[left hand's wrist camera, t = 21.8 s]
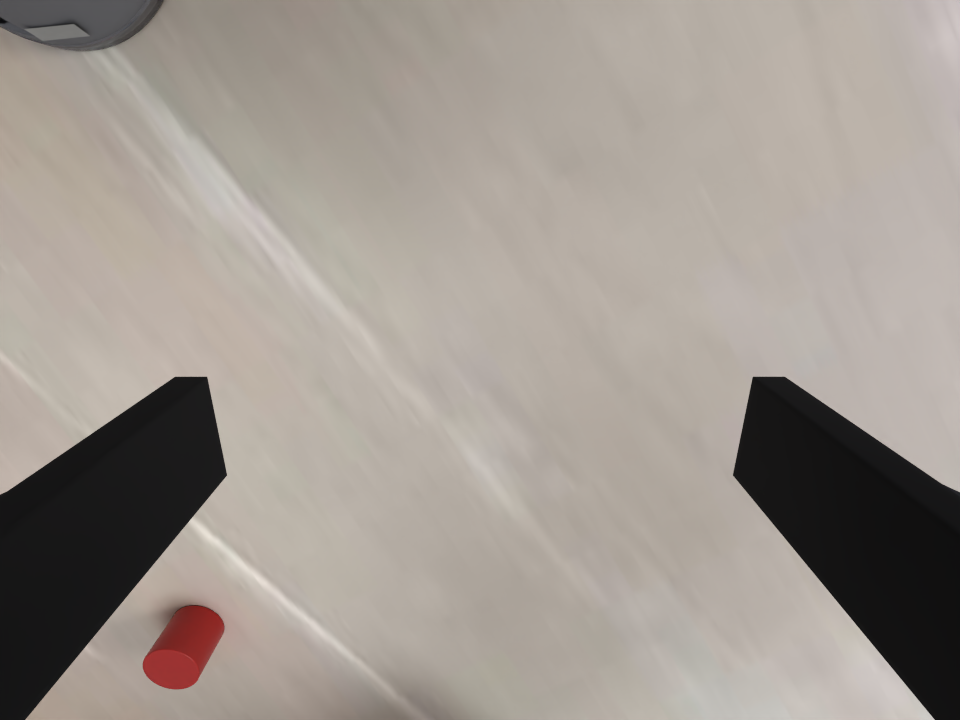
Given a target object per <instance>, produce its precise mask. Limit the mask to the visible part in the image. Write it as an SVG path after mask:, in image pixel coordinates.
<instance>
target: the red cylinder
mask: <svg viewBox="0 0 960 720" xmlns="http://www.w3.org/2000/svg"><path fill="white" fill-rule="evenodd" d="M223 632H224V624H223V621H222V619H221V618H220V617H219V616H218V615H217V614H216V613H215V612H214V611H212V610H210V609H208V608H205V607H202V606H186V607H183V608H181V609H179V610H178V611H177V612H176V613H175V614H174V616H173V617H172V619H171V620H170V622H169V623H168V625H167V626H166V628H165V629H164V630H163V632H162V633H161V635H160V636H159V638H158V639H157V641H156V642H155V644H154V645H153V647H152V648H151V650H150V651H149V653H148V654H147V655H146V657H145V659H144V661H143V670H144V672H145V674H146V676H147V677H148V678H149V679H150V680H151V681H153V682H154V683H156V684H157V685H159V686H162V687H165V688H169V689H184V688H188V687H190V686H192V685H193V684H195V683H196V682H197V680H198V678H199V677H200V675H201V673H202V671H203V669H204V668H205V666H206V664H207V662H208V660H209V658H210V657H211V655H212V653H213V651H214V649H215V647H216V646H217V644H218V642H219V640H220V638H221V637H222V635H223Z"/></svg>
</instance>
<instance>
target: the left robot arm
mask: <svg viewBox="0 0 960 720" xmlns="http://www.w3.org/2000/svg"><path fill="white" fill-rule="evenodd" d="M162 2H163V0H0V27H2V28H4V29H6V30H8V31H10V32H11V33H14V34H16V35H18V36H21V37H23V38H25V39H28V40H32V41H35V42H38V43H41V44H45V45H49V46H52V47H56V48H61V49H66V50H75V51H91V50H99V49H104V48H108V47H111V46H114V45H117V44H119V43H121V42H123V41H125V40H127V39H129V38H130V37H132V36H133V35H135V34H136V33H138V32H139V31H140V30H141V29H142V28H143V27H144V26H145V25H146V24H147V23H148V22H149V21H150V20H151V19H152V17H153V16H154V15H155V13H156V12H157V10H158V9H159V7H160V6H161V4H162ZM226 476H227V473H226V468H225V463H224V458H223V453H222V448H221V443H220V438H219V433H218V428H217V423H216V419H215V414H214V409H213V404H212V399H211V394H210V389H209V384H208V379H207V377H174V378H173V379H171V380H170V381H168V382H167V383H166V384H164V385H163V386H161V387H160V388H158V389H157V390H155V391H154V392H152V393H151V394H149V395H148V396H146V397H145V398H144V399H142V400H141V401H139V402H138V403H136V404H135V405H133V406H132V407H130V408H129V409H127V410H126V411H125V412H123V413H122V414H120V415H119V416H117V417H116V418H114V419H113V420H111V421H110V422H108V423H107V424H105V425H104V426H103V427H101V428H100V429H98V430H97V431H95V432H94V433H92V434H91V435H89V436H88V437H86V438H85V439H84V440H82V441H81V442H79V443H78V444H76V445H75V446H73V447H72V448H70V449H69V450H67V451H66V452H64V453H63V454H62V455H60V456H59V457H57V458H56V459H54V460H53V461H51V462H50V463H48V464H47V465H45V466H44V467H43V468H41V469H40V470H38V471H37V472H35V473H34V474H32V475H31V476H29V477H28V478H26V479H25V480H23V481H22V482H21V483H19V484H18V485H16V486H15V487H13V488H12V489H10V490H9V491H7V492H5V493H3V494H1V495H0V720H25V719H26V718H27V717H28V716H29V714H30V713H31V712H32V711H33V710H34V708H35V707H36V706H37V705H38V703H39V702H40V701H41V700H42V699H43V697H44V696H45V695H46V694H47V693H48V691H49V690H50V689H51V688H52V687H53V685H54V684H55V683H56V682H57V680H58V679H59V678H60V677H61V676H62V674H63V673H64V672H65V671H66V670H67V668H68V667H69V666H70V665H71V663H72V662H73V661H74V660H75V659H76V657H77V656H78V655H79V654H80V653H81V651H82V650H83V649H84V648H85V647H86V645H87V644H88V643H89V642H90V640H91V639H92V638H93V637H94V636H95V634H96V633H97V632H98V631H99V630H100V628H101V627H102V626H103V625H104V624H105V622H106V621H107V620H108V619H109V617H110V616H111V615H112V614H113V613H114V611H115V610H116V609H117V608H118V607H119V605H120V604H121V603H122V602H123V601H124V599H125V598H126V597H127V596H128V594H129V593H130V592H131V591H132V590H133V588H134V587H135V586H136V585H137V584H138V582H139V581H140V580H141V579H142V578H143V576H144V575H145V574H146V573H147V571H148V570H149V569H150V568H151V567H152V565H153V564H154V563H155V562H156V561H157V559H158V558H159V557H160V556H161V554H162V553H163V552H164V551H165V550H166V548H167V547H168V546H169V545H170V544H171V542H172V541H173V540H174V539H175V538H176V536H177V535H178V534H179V533H180V531H181V530H182V529H183V528H184V527H185V525H186V524H187V523H188V522H189V521H190V519H191V518H192V517H193V516H194V515H195V513H196V512H197V511H198V510H199V508H200V507H201V506H202V505H203V504H204V502H205V501H206V500H207V499H208V498H209V496H210V495H211V494H212V493H213V492H214V490H215V489H216V488H217V487H218V485H219V484H220V483H221V482H222V481H223V479H224V478H225V477H226ZM733 476H734V477H735V478H736V479H737V481H738V482H739V483H740V484H741V485H742V487H743V488H744V489H745V490H746V492H747V493H748V494H749V495H750V496H751V498H752V499H753V500H754V501H755V502H756V504H757V505H758V506H759V507H760V508H761V510H762V511H763V512H764V513H765V515H766V516H767V517H768V518H769V519H770V521H771V522H772V523H773V524H774V525H775V527H776V528H777V529H778V530H779V531H780V533H781V534H782V535H783V536H784V538H785V539H786V540H787V541H788V542H789V544H790V545H791V546H792V547H793V548H794V550H795V551H796V552H797V553H798V555H799V556H800V557H801V558H802V559H803V561H804V562H805V563H806V564H807V565H808V567H809V568H810V569H811V570H812V571H813V573H814V574H815V575H816V576H817V578H818V579H819V580H820V581H821V582H822V584H823V585H824V586H825V587H826V588H827V590H828V591H829V592H830V593H831V594H832V596H833V597H834V598H835V599H836V601H837V602H838V603H839V604H840V605H841V607H842V608H843V609H844V610H845V611H846V613H847V614H848V615H849V616H850V617H851V619H852V620H853V621H854V622H855V624H856V625H857V626H858V627H859V628H860V630H861V631H862V632H863V633H864V634H865V636H866V637H867V638H868V639H869V640H870V642H871V643H872V644H873V645H874V647H875V648H876V649H877V650H878V651H879V653H880V654H881V655H882V656H883V657H884V659H885V660H886V661H887V662H888V663H889V665H890V666H891V667H892V668H893V670H894V671H895V672H896V673H897V674H898V676H899V677H900V678H901V679H902V680H903V682H904V683H905V684H906V685H907V687H908V688H909V689H910V690H911V691H912V693H913V694H914V695H915V696H916V697H917V699H918V700H919V701H920V702H921V703H922V705H923V706H924V707H925V708H926V710H927V711H928V712H929V713H930V714H931V716H932V717H933V718H934V719H935V720H960V492H958V491H956V490H953V489H951V488H949V487H947V486H945V485H943V484H941V483H939V482H938V481H937V480H935V479H934V478H932V477H931V476H929V475H928V474H926V473H925V472H923V471H922V470H920V469H919V468H917V467H916V466H915V465H913V464H912V463H910V462H909V461H907V460H906V459H904V458H903V457H901V456H900V455H898V454H897V453H896V452H894V451H893V450H891V449H890V448H888V447H887V446H885V445H884V444H882V443H881V442H879V441H878V440H876V439H875V438H874V437H872V436H871V435H869V434H868V433H866V432H865V431H863V430H862V429H860V428H859V427H857V426H856V425H855V424H853V423H852V422H850V421H849V420H847V419H846V418H844V417H843V416H841V415H840V414H838V413H837V412H835V411H834V410H833V409H831V408H830V407H828V406H827V405H825V404H824V403H822V402H821V401H819V400H818V399H816V398H815V397H814V396H812V395H811V394H809V393H808V392H806V391H805V390H803V389H802V388H800V387H799V386H797V385H796V384H794V383H793V382H792V381H790V380H789V379H787V378H786V377H753V379H752V384H751V389H750V394H749V399H748V404H747V409H746V414H745V419H744V423H743V428H742V433H741V438H740V443H739V448H738V453H737V458H736V463H735V468H734V473H733Z"/></svg>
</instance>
